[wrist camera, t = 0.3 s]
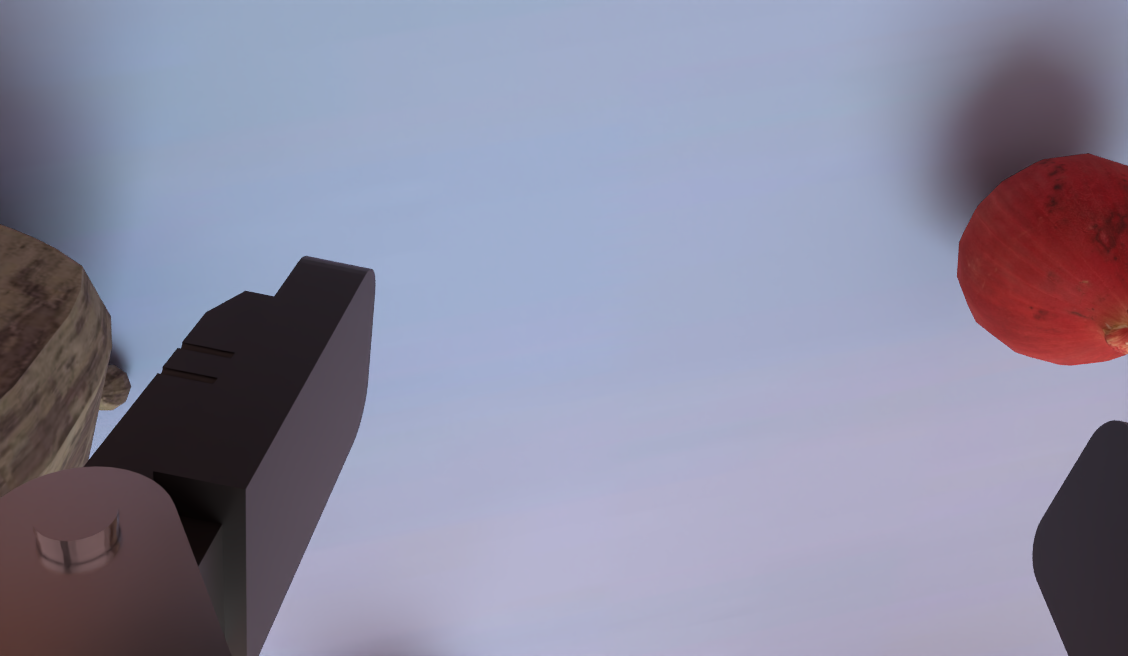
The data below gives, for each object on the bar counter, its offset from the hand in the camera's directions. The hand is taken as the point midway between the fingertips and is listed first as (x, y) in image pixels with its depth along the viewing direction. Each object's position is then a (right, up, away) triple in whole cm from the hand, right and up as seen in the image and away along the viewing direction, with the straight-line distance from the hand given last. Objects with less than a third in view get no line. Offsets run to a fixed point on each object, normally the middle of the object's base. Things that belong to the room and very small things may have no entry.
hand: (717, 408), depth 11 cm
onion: (+13, +5, +20) cm, 24 cm away
